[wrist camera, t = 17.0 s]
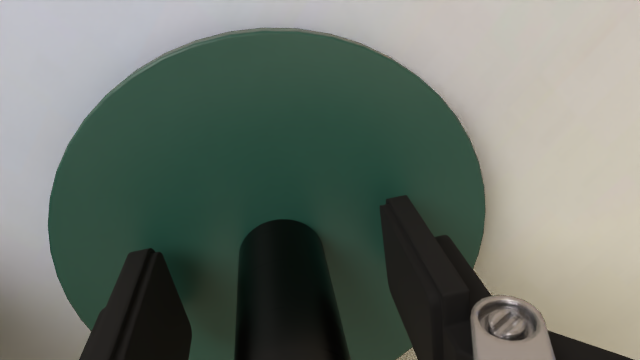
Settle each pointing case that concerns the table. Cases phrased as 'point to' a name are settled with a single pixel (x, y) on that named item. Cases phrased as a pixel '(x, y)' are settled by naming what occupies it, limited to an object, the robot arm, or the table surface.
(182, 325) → the robot arm
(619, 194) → the table surface
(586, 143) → the table surface
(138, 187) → the lid
